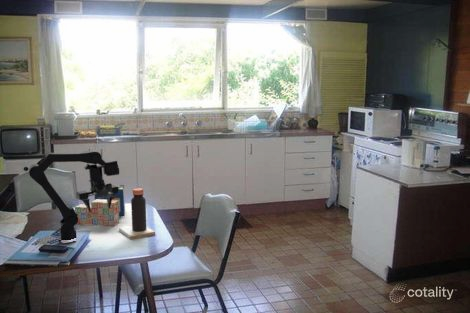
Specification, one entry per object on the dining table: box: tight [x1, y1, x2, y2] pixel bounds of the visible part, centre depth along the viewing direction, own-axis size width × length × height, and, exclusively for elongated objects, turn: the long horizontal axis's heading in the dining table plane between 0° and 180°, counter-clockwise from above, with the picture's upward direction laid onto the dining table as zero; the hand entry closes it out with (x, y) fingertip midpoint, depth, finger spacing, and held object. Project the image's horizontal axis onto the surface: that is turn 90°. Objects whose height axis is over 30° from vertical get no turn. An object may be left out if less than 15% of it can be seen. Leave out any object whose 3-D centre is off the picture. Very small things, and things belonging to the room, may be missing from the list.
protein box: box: [94, 184, 126, 218], centre depth 253 cm, size 10×15×16 cm
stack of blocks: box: [74, 199, 120, 227], centre depth 237 cm, size 21×6×12 cm, turn 81°
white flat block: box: [118, 224, 156, 240], centre depth 222 cm, size 12×16×2 cm
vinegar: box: [130, 187, 147, 232], centre depth 221 cm, size 7×7×20 cm
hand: (99, 210), depth 215 cm, fingers open, 9 cm apart
